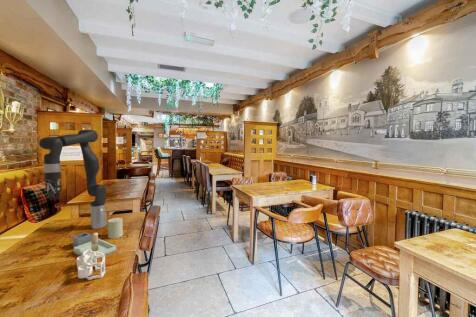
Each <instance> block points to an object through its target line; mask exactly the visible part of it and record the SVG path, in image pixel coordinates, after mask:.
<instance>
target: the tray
mask: <svg viewBox="0 0 476 317" xmlns="http://www.w3.org/2000/svg"><path fill="white" fill-rule="evenodd" d="M88 249H91V242H88V243H85V244H82V245H79V246H77V247H74V246H73V253H74V254H76V255H77V256H78V257H79V256H81V255H83V252H84V251H86V250H88ZM91 250H92V249H91ZM97 252H102V253H103V254H104V255H105V257H106V256H108V255H110V254H113V253H115V252H117V245H114V244H112V243H110V242H107V241H105V240H103V239H101V238H98V250H97ZM85 254H88V253H85ZM85 254H84V255H85ZM89 255H90V260H91V261H92V262H94V254H92V253H91V252H89ZM97 255H98V254H96V256H97ZM99 259H102V257H99V258H97V260H99Z"/></svg>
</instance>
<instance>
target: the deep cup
mask: <svg viewBox="0 0 476 317" xmlns="http://www.w3.org/2000/svg"><path fill="white" fill-rule="evenodd" d="M91 234H92V233H88V232H82V233H79V234H76V235H72V246H73V248H74V247H77V246H79V245H82V244H85V243H88V242H91Z"/></svg>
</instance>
